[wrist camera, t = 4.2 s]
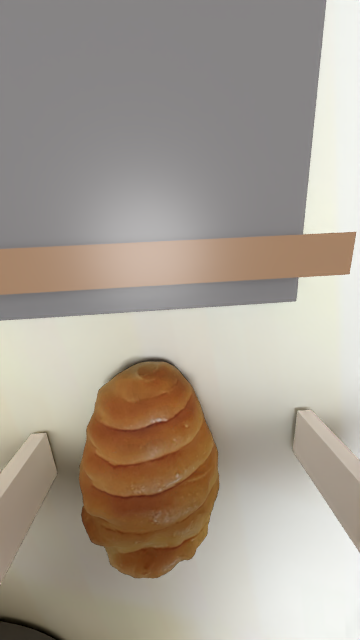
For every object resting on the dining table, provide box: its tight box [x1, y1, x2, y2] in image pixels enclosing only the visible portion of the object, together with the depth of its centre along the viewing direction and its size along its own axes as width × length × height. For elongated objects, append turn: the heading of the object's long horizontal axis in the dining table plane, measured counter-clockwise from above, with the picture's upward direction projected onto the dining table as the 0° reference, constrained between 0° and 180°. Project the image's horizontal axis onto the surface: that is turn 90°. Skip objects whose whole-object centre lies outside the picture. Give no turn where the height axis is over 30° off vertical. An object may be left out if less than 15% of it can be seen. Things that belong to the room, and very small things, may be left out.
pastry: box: [79, 362, 219, 578], centre depth 10 cm, size 9×7×4 cm
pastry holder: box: [0, 0, 356, 321], centre depth 6 cm, size 14×17×3 cm
